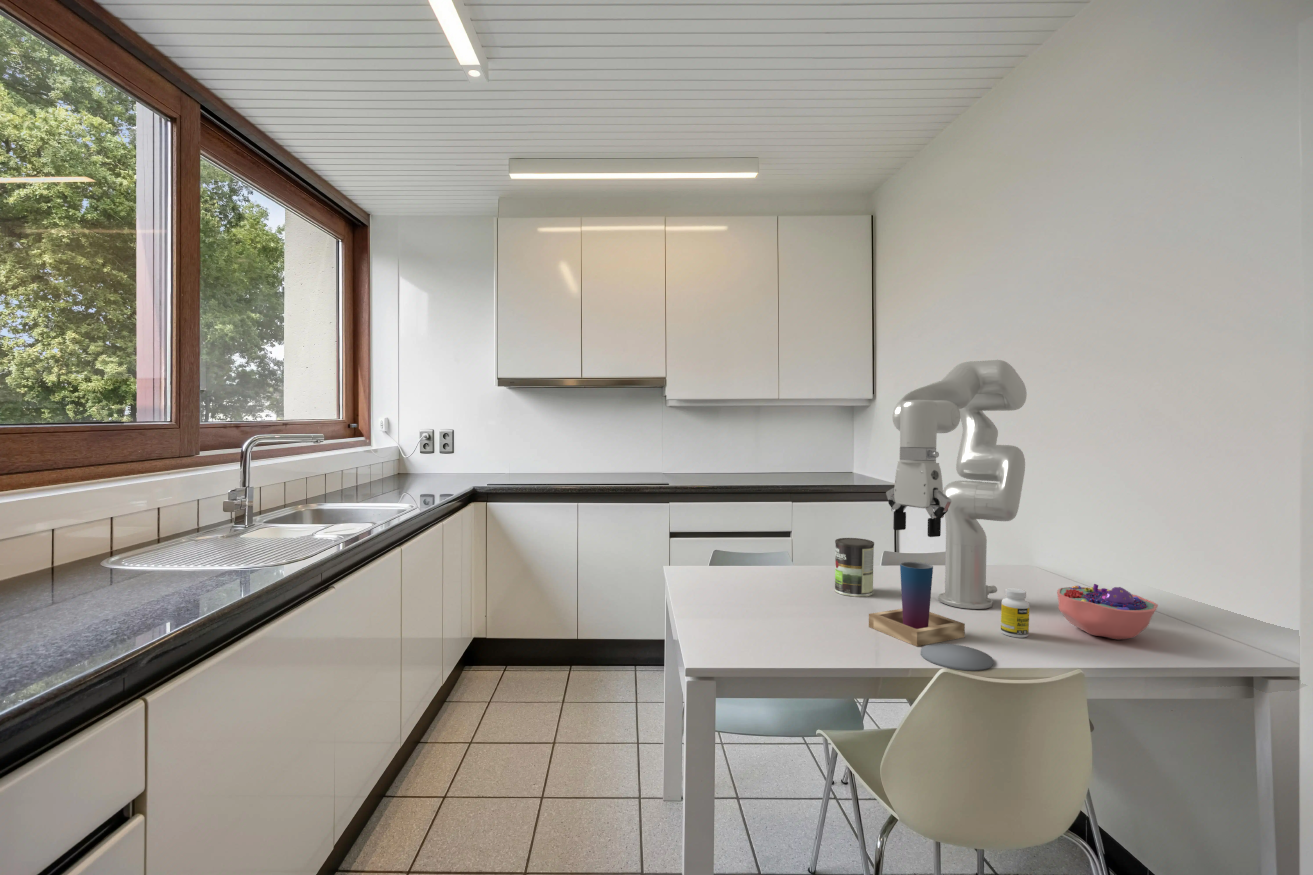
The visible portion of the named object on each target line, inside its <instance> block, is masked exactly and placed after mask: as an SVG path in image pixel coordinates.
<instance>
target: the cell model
mask: <svg viewBox="0 0 1313 875" xmlns="http://www.w3.org/2000/svg"><path fill="white" fill-rule="evenodd" d="M1056 594H1057V600H1058V607H1057V608H1058V610H1059V612H1060V613H1061V614H1062V616H1064V618H1065V619H1066V620H1067V622H1069V623H1070V624H1071V625H1073V626H1074V627H1076V628H1078V629H1079V630H1082V631H1083V632H1085V633H1087V634H1089V635H1092V636H1095V637H1104V638H1107V639H1110V640H1120V641H1121V640H1127V639H1133V638H1135V637H1136V636H1138V635H1139V634H1140V633H1142V632H1143V631H1144V630H1146V629H1147V628H1148V626H1149V625H1150V624H1151V622H1152V619H1153V617H1154V614H1155V612H1156V611H1157V608H1158V607H1159V604H1158V603H1156V602H1154V601H1152V600H1149V599H1146V598H1144V597H1143V596H1139V595H1137V594H1132V593H1131V592H1130V591H1128V590H1126V589H1125V588H1123V587H1121V586H1115V587H1111V589H1108V588H1105V587H1103V588H1099V584H1096V583H1094V584H1093V586H1091V587H1085V586H1084V587H1082V586H1081V585H1074V586H1071V587H1070V586H1069V587H1067V586H1066V587H1060V588H1058V589H1057V591H1056Z"/></svg>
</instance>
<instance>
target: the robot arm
mask: <svg viewBox="0 0 1313 875" xmlns="http://www.w3.org/2000/svg"><path fill="white" fill-rule="evenodd" d="M1026 387H1027V386H1026V385H1025V382H1024V381H1023V379H1022V378H1021V376H1020V375H1019V374H1018V372H1017V370H1016V369H1015V368H1014V367H1013V366H1012V365H1011V363H1008V362H1007V361H1005V360H1001V359H993V360H992V359H991V360H975V361H973V360H972V361H965V362H961V363H959V364H957V365H956V366H954V367H953V368H952V369H951V370H950V371H949V372H948V373H947V374H946V375H945V376H944V377H943V378H942V379H941V380H939V381H936V382H932V383H930V384H927V385H924V386H922V387H919V388H915V389H914V390H911V391H909V392H908V393H906V394H905V395H903V396H902V397H901V399H900V400H898V402H897V403H896V405H895V406H894V408H893V411H892V423H893V425H894V427H895V429H896V430H897V431H899V461H897V465H896V469H895V470H896V471H895V475H894V476H895V478H894V487H892V488H890V489H889V490H887V491H886V492H885V495H886V498H887V500H888V505H889V506H890V509H891V512H892V513H893V530H894V531H904V530H906V529H907V512H906V511H905V510H906V508H907V507H910V508H911V507H912V508H918V509H925V510H926V512H927V514H928V515H929V517H927V537H929V538H936V537H937V538H939V537H940V536H941V533H942V532H941V531H942V530H941V529H942V528H941V527H942V526H941V525H942V519H943V518H945V565H944V566H945V569H944V570H945V571H944V573H945V574H944V576H945V577H944V584H945V585H944V592H941V593H939V594H938V601H939V602H940V603H942V604H945V605H947V606H951V607H955V608H961V609H969V610H983V609H984V610H985V609H990V608H992V607H993V599H990V598H989V597H988V596H989V595H990V594H996V593H997V592H998V587H997V586H996V585H987V542H988V541H987V535H986V531H985V530H984V528H983V527H982V525H981V524H980V523H979V521H978V520H984V521H993V522H994V521H996V522H1010V521H1013V520H1014V519H1016V516H1017V515H1018V512H1019V507H1020V502H1021V496H1022V490H1023V484H1024V478H1025V471H1026V458H1025V455H1024V452H1023V451H1022V449H1021V448H1019V447H1018V446H1016V445H1009V444H997V442H998V437H999V429H998V428H997V426H996V424H995V422H993V421H992V420H991V419H990V418H989V417H988V416H987V414H985V413H984V411H985V412H986V411H987V412H988V411H990V412H996V411H1000V412H1001V411H1007V412H1009V411H1017V410H1019V409H1021V408H1022V407H1024V405H1025V403H1026V401H1027V395H1028V394H1027V388H1026ZM960 422H961V426H962V434H961V439H960V444H959V449H958V453H957V457H956V464H955V465H956V466H955V469H956V473H957V474H958V476H960V477H961V478H962V479H967V480H955V481H951V482H949V483H947V484H946V485H945V487H944V486H943V475H942V469H941V465H940V463H939V462H937V459H938V458H939V457H940V453H939V451H937V437H938V436H937V434H948V433H951V432H954V431H955V430H956V429H957V428H958V426H959V424H960Z"/></svg>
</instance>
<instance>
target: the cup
mask: <svg viewBox="0 0 1313 875" xmlns="http://www.w3.org/2000/svg"><path fill="white" fill-rule="evenodd" d="M899 570H900V584H901V585H900V588H901V589H900V590H901V609H902V612H903V624H904V625H907V626H910V627H912V628H915V629H920V628H926V627H928V623H929V612H931V611H930V607H931V598H932V597H931V596H932V587H933V586H932V585H933V582H932V581H933V573H934V572H933V571H934V566H933V565H932V564H930V563H926V562H920V561H902V562H900V563H899Z"/></svg>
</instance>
